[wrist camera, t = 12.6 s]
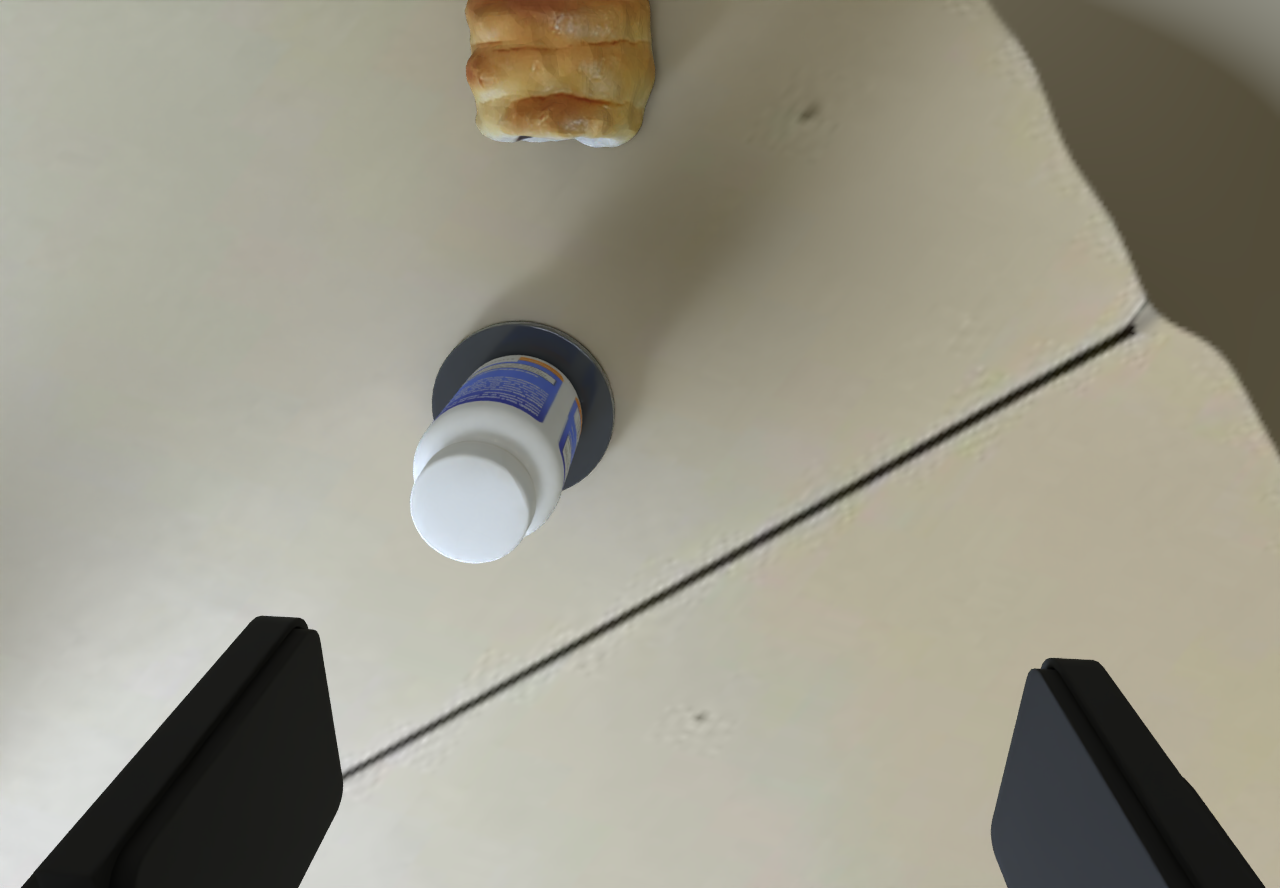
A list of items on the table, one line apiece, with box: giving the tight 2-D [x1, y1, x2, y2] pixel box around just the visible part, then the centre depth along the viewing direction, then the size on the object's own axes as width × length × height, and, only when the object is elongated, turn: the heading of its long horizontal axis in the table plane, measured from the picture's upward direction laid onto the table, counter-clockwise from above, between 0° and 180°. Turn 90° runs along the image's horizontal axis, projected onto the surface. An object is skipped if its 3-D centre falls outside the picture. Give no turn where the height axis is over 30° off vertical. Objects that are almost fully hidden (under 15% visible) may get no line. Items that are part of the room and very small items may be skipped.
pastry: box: [465, 0, 655, 147], centre depth 29 cm, size 9×7×4 cm
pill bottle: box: [410, 355, 582, 563], centre depth 31 cm, size 5×5×10 cm
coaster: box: [432, 321, 615, 490], centre depth 36 cm, size 8×8×1 cm
